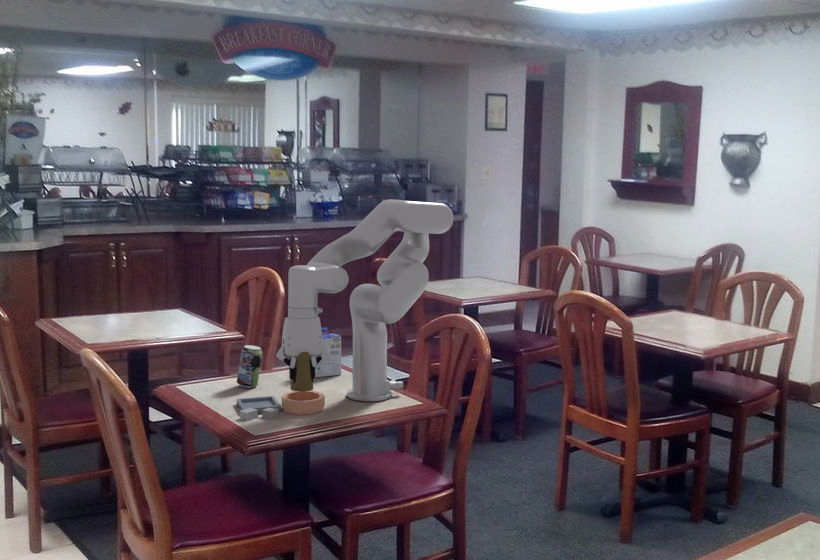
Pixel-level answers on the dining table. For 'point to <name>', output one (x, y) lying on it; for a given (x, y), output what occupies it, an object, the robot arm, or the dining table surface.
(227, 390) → the dining table surface
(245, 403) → the tray
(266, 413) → the grey block
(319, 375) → the ink cartridge box
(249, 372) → the beverage can
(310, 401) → the bowl
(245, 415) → the light grey block
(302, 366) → the olive pestle
